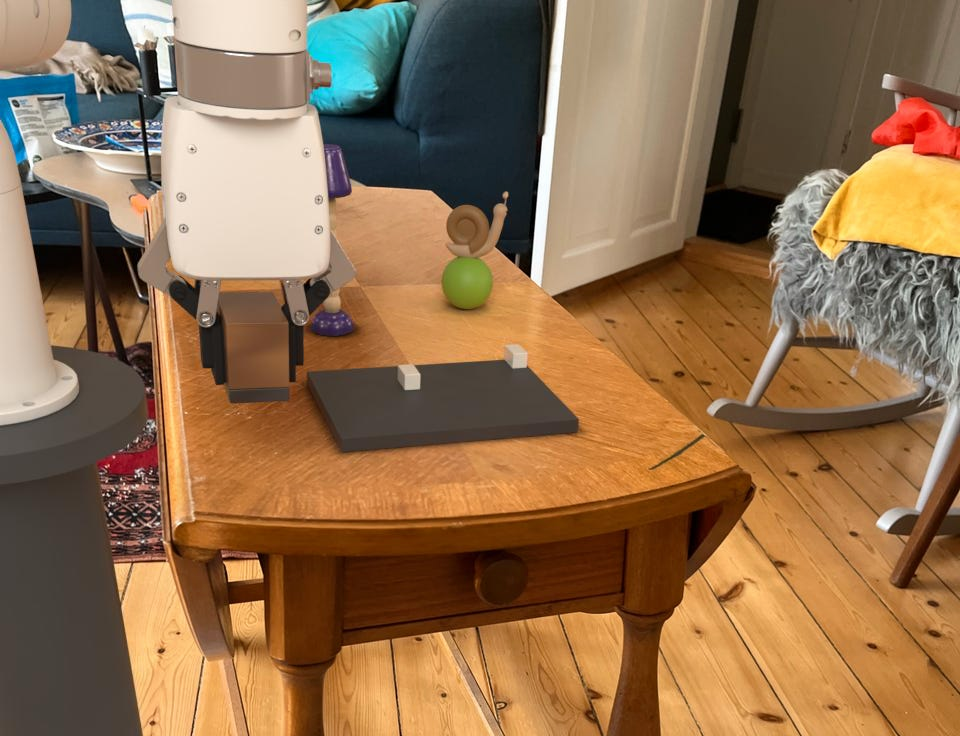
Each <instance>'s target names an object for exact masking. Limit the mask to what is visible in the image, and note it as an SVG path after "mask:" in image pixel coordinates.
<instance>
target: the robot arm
mask: <svg viewBox="0 0 960 736" xmlns="http://www.w3.org/2000/svg"><path fill="white" fill-rule="evenodd" d="M171 12H172V25H173V26H172V27H173V37H174V40H173V42H174V43H173V44H174V57H175V70H176V71H175V73H176V87H177V95H171V96H168V97H166V98H165V99H164V104H163V105H164V106H163V112H162V122H161V138H160V145H161V146H160V173H161V179H160V180H161V203H162V204H161V206H162V222H161V223H160V225H159V227H158V229H157V231H156V232H155V233H154V236H152V238H151V240H150V242H149V244H148V245H147V247H146V249H145V250H144V253H143V254H142V255H141V257H140V259H139V261H138V262H137V265H136V268H137V274H138V277H139V279H141V280H142V281H143V282H144V283H146V284H148V285H149V286H151V287H153V288H154V289H156V290H158V291H159V292H161V293H163V294H166V295H167V296H169V297H170V298H171V299H172V300H173V301H174V302H175V303H177V304H178V306H180V307H181V308H182V309H183V310H185V312H187V313H188V315H190V316H191V317H192V318H193V319H195V321H196V322H197V324H198V334H199V337H198V338H199V349H200V350H199V352H200V362H201V366H202V369H205V370H206V369H210V370H211V372H212V377H213V380H214V383H215V386H224V383H226V367H225V347H224V331H223V327H222V324H221V321H220V318H219V314H218V311H217V306H218V299H219V292H221V284H222V281H279V285H280V291H281V296H282V299H283V305H282V306H280V307H281V309H282V311H283V313H284V315H285V317H286V319H287V321H288V323H289V383H296V382H297V381H296V380H297V369H296V368H297V367H298V366H300V367H301V366H304V363H305V362H304V361H305V359H304V358H305V357H304V356H305V354H304V353H305V351H304V350H305V349H304V348H305V347H304V345H305V344H304V342H305V339H304V336H305V335H304V326H305V325H307V324H308V322H309V320H310V317H311V315H312V314H313V313H314V312H315V311H316V310H317V309H318V308H319V307H320V306H321V305H322V304H323V302H324V301H325V300H326V299H327V298H328V296H329V294H330V293H332V292H333V291H336V290H338V289H339V288H340V289H341V288H342V287H344V286H345V285H347V284H348V283H350V282H351V281H352V280H354V279H355V278H356V275H357V270H356V268H355V266H354V265H353V263H352V261H351V260H350V258H349V257H348V255H347V254H346V252H345V250H344V248H343V247H342V245H341V244H340V242H339V240H338V238H337V239H336V237H335V236H334V234H333V233H332V231H331V229H330V217H329V201H328V187H327V175H326V163H325V154H324V146H323V144H324V140H323V134H322V127H321V122H320V118H319V111H318V110H317V108H316V107H315V105H313V104H309V103H310V102H311V95H312V94H314V90H316V91H317V90H319V89H320V88H328V89H329V88H331V87H332V84H333V83H332V82H333V72H332V70H333V69H332V65H331V63H330V62H320V61H319V60H318V59H314V58H313V56H311V53H310V52H309V51H308V0H171ZM71 23H72V2H71V0H0V71H6V70H7V71H9V70H14V69H20V68H21V69H22V68H27V67H31V66H35V65H39V64H41V63H44V62H45V61H48V60H49V59H51V58H52V57H53V56H55V55H56V54H57V53H58V52H59V51H60V50H61V49H62V47H63V46H64V44H65V43H66V40H67V38H68V35H69V32H70V30H71ZM27 213H28V212H27V208H26V202H25V198H24V193H23V187H22V182H21V177H20V171H19V166H18V163H17V157H16V153H15V149H14V147H13V144H12V142H11V138H10V136H9V134H8V131H7V130H6V128H5V124H4V123H3V121H2V120H1V119H0V426H4V425H11V424H18V423H22V422H27V421H31V420H35V419H38V418H42V417H45V416H48V415H50V414H52V413H55V412H57V411H59V410H61V409H63V408H64V407H66V406H68V405H69V404H70V403H71V402H72V401H73V400H74V399H75V398H76V396H77V395H78V393H79V383H78V378H77V374H76V373H75V372H74V370H73V369H72V368H70V367H69V366H67V365H66V364H64V363H61V362H59V361H57V360H53V354H52V349H51V345H52V344H51V338H50V332H49V328H48V323H47V315H46V312H45V305H44V301H43V295H42V289H41V284H40V279H39V274H38V268H37V262H36V258H35V251H34V246H33V241H32V235H31V231H30V230H31V229H30V224H29V219H28V214H27ZM169 260H170V262H171V264H172V267H173V270H174V271H175V272H176V273H177V274H176V273H174V272H173V271H172V270H170V269H169V268H168V267H167V265H168V262H169ZM185 278H187V279H191V280H194V284H193V285H194V286H193V285H192V284H191V283H190V282H189V281H188V280H186V279H185ZM303 280H306V281H305V282H303Z"/></svg>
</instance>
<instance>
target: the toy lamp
mask: <svg viewBox="0 0 960 736" xmlns="http://www.w3.org/2000/svg"><path fill="white" fill-rule="evenodd" d="M323 146H324V154H325V163H326V175H327V187H328V201H329V217H330V229H331V231H332V233H333V234H334V236H335V237H336V239H337V240H338V232H337V230H336V227H337V223H338V219H337V215H336V213H335V211H336V208H337V200H336V199H340V198H345V197H349V196H351V194H352V191H353V188H352V183H351V179H350V175H349V172H348V168H347V163H346V161H345V157H344V153H343V151H342V148H341V147H340V146H339V145H337V144H331V143H323ZM340 290H341V288H339V289H338V290H336V291H333V292H332V293H330V294H329V296H328V298H327V299H326V300H325V301H324V302H323V303H322V304H323V308H324V309H321V310H319V311H318V312H316V313H315V314H314V316H313V318H312V320H311V324H310V329H311V331H312V332H313V333H314V334H317V335H320V336H325V337H337V336H344V335H347V334H351V332H353V331H354V329H355V327H354V321H353V319H352V318H351V316H350V315H349V314H348V313H347V312H346V311H344V310H342V309H341V306H342V302H341V298H340V295H339V294H340Z"/></svg>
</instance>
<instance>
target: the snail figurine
mask: <svg viewBox="0 0 960 736" xmlns="http://www.w3.org/2000/svg"><path fill="white" fill-rule="evenodd" d="M508 197H509V192H508V191H504V192H503V193H502V198H503V199H504V203H501V202H500V203H497V204H496V205H495V206H494V207H493V210H492V211H493V220H492V221H491V222H492V223H491V225H490V222H489V220H488V218H487V216H486V214H485V213H484V212H483V211H482V210H481V209H480V208H479V207H477V206H475V205H471V204H462V205H459V206H457V207H455V208H453V209H452V210H451V212H450V213H449V215H448V216H447V219H446V222H445V223H446V225H445V227H446V228H445V229H446V233H447V236H448V238H449V239H450V240H451V241H452V242H445V244H444V245H445V247H446V248H447V250H448V251H449V252H450V253H451V254H452V255H453V256H454V258H452V260H450V261H449V262H448V263H447V265H446V266H445V267H444V269H443V272H442V275H441V288H442V292H443V295H444V296H445V298H446V299H447V301H448V302H449V303H450V304H451V305H453V306H454V307H456V308H459V309H461V310H462V309H463V310H473V309H476V308H478V307H481V306H482V305H483V304H484V303H486V301H487V300H488V299H489V298H490V296H491V293H492V291H493V287H494V279H493V274H492V271H491V269H490V267H489V265H488V264H487V263H486V262H485V260H483V259H481V258H482V257H484V256H486V255H488V254H490V253H491V252H492V251H493V250H494V248H495V247H496V245H497V244H498V241H499V239H500V237H501V236H500V235H501V232H502V230H503V226H504V221H505V218H506V217H507V212H508V207H507V199H508ZM490 226H491V227H490ZM455 256H456V257H455Z"/></svg>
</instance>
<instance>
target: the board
mask: <svg viewBox="0 0 960 736" xmlns="http://www.w3.org/2000/svg"><path fill="white" fill-rule="evenodd" d="M413 365H414V366H415V367H416V369H417V370H418V372H419V373H420V375H421V377H420V389H418V390H404V388H403V387H402V386H401V384H400V383H399V381H398V365H394V366H393V365H391V366H376V367H360V368H359V367H358V368H343V369H328V370H309V371H306V384H307V386H308V389H309V391H310V392H311V394H312V396H313V398H314V401H315V402H316V404H317V407H318V408H319V411H320V412H321V414H322V416H323V419H324V420H325V422H326V424H327V427H328V429H329V430H330V432H331V435H332V437H333V439H334V440H335V443H336V445H337V446H338V449H339V451H340V452H341V453H347V452H361V451H362V452H363V451H373V450H384V449H385V450H386V449H396V448H408V447H409V448H411V447H420V446H421V447H422V446H433V445H444V444H445V445H446V444H457V443H467V442H479V441H480V442H481V441H491V440H504V439H513V438H527V437H538V436H549V435H550V436H551V435H552V436H553V435H563V434H564V435H565V434H573V433H574V434H575V433H578V432H579V430H578V429H579V423H580V418H579V417H577V415H576V414H575V413H574V412H573V411H572V410H571V409H570V408H569V407H568V406H567V405H566V404H565V403H564V402H563V401H562V399H560V398H559V397H558V396H557V394H556V393H554V391H553V390H552V389H551V388H550V387H548V385H547V384H546V383H545V382H544V380H542V379H541V378H540V377H539V376H538V375H537V374H536V373H535V371H533V370H532V369H531V368H530V367H529V365H527V367H526V368H514V369H513V368H512V367H511V366H510V365H509V364H508V363H507V362H506V361H505V360H504V359H492V360H490V359H489V360H474V361H473V360H472V361H459V362H441V363H423V364H413Z"/></svg>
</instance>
